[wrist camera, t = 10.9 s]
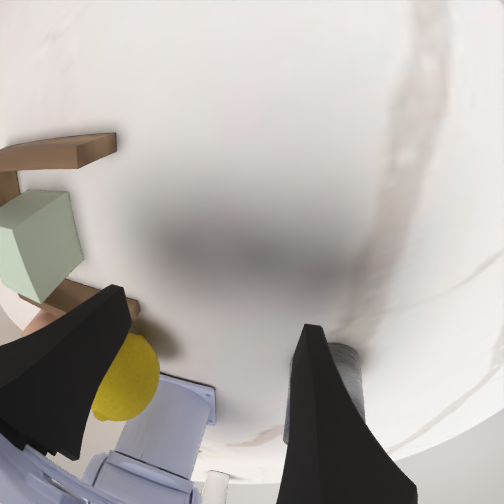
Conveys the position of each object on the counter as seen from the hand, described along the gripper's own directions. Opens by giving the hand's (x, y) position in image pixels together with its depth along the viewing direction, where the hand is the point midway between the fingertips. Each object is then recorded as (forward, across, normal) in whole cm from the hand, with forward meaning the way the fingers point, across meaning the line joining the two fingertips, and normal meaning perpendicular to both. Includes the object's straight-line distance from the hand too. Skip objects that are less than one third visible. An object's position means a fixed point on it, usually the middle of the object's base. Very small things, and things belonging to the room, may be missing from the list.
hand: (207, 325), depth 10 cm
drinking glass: (+6, +1, +65) cm, 65 cm away
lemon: (+5, +7, +9) cm, 12 cm away
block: (+5, +13, 0) cm, 14 cm away
